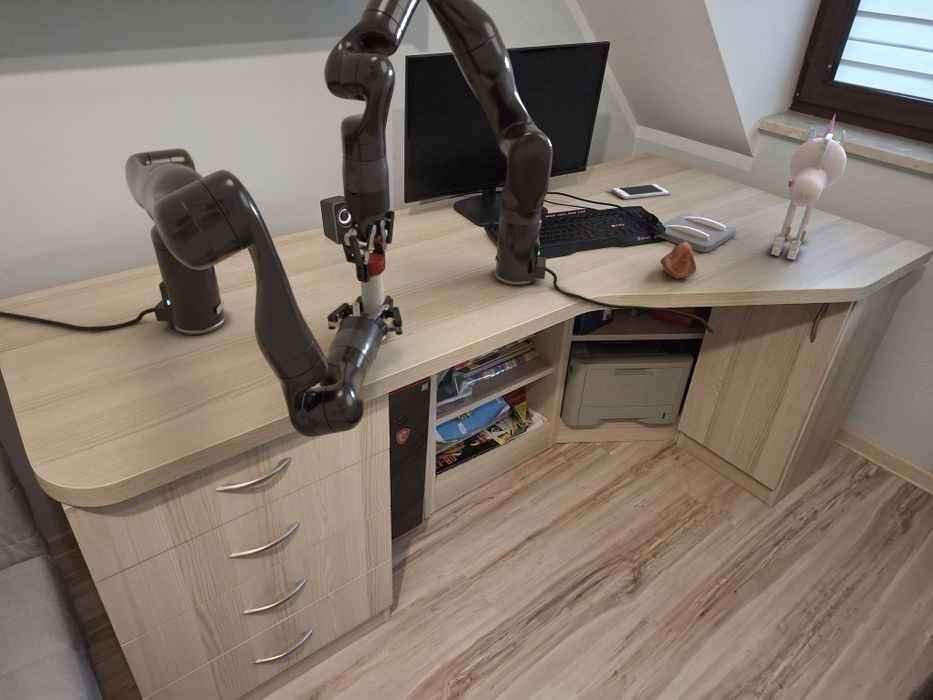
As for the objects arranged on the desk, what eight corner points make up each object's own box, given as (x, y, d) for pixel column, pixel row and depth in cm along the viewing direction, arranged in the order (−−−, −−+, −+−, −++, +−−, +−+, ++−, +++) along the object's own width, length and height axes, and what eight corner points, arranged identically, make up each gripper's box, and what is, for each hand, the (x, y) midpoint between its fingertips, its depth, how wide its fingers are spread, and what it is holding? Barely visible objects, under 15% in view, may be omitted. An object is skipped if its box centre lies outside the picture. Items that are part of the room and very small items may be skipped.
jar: (364, 342, 120) (359, 266, 111) (364, 331, 123) (359, 256, 114) (386, 341, 121) (382, 265, 112) (385, 330, 124) (381, 256, 115)
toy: (826, 222, 178) (867, 110, 161) (806, 269, 152) (852, 142, 135) (779, 212, 183) (814, 103, 167) (751, 256, 157) (789, 132, 141)
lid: (381, 276, 112) (381, 265, 111) (354, 274, 112) (353, 263, 111) (387, 264, 116) (386, 253, 115) (361, 262, 116) (360, 251, 115)
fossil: (669, 273, 140) (675, 228, 140) (641, 275, 147) (646, 232, 147) (707, 283, 147) (712, 240, 147) (678, 285, 154) (683, 244, 154)
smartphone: (611, 191, 194) (612, 187, 193) (654, 186, 199) (655, 183, 198) (624, 199, 188) (625, 196, 188) (668, 194, 193) (668, 191, 193)
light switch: (708, 241, 156) (653, 223, 165) (705, 253, 158) (650, 234, 167) (740, 223, 167) (687, 206, 176) (737, 234, 169) (684, 217, 178)
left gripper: (396, 332, 104) (413, 283, 118) (310, 325, 105) (338, 278, 119) (397, 370, 108) (414, 318, 122) (315, 363, 109) (341, 313, 123)
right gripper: (370, 167, 112) (374, 255, 121) (321, 191, 101) (330, 287, 110) (407, 174, 109) (409, 264, 119) (361, 200, 98) (367, 297, 108)
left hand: (376, 299), depth 120 cm, fingers closed on jar, 4 cm apart
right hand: (371, 274), depth 115 cm, fingers closed on lid, 4 cm apart
